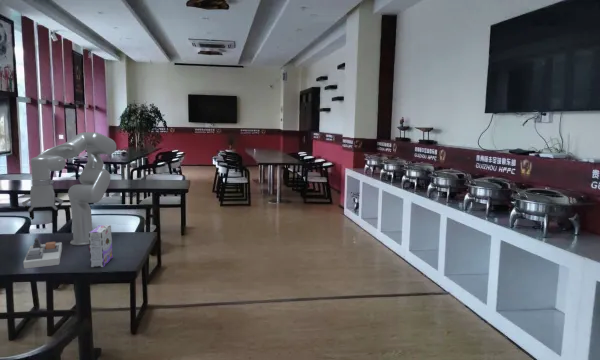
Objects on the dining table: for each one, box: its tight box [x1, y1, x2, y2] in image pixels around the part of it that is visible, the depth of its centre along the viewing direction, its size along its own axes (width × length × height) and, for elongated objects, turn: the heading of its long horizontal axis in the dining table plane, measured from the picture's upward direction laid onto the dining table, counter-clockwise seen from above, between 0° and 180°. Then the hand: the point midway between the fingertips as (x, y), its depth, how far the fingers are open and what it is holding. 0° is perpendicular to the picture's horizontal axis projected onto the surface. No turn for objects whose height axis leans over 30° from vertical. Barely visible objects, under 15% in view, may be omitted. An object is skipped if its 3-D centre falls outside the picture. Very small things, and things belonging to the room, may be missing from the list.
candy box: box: [88, 224, 114, 268], centre depth 212 cm, size 14×6×16 cm, turn 5°
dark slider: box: [33, 237, 42, 248], centre depth 227 cm, size 3×5×4 cm, turn 25°
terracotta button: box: [44, 241, 57, 249], centre depth 221 cm, size 4×4×2 cm
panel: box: [22, 242, 63, 270], centre depth 221 cm, size 14×30×5 cm, turn 25°
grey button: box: [28, 248, 40, 256], centre depth 211 cm, size 4×4×2 cm
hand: (44, 218), depth 220 cm, fingers open, 9 cm apart
